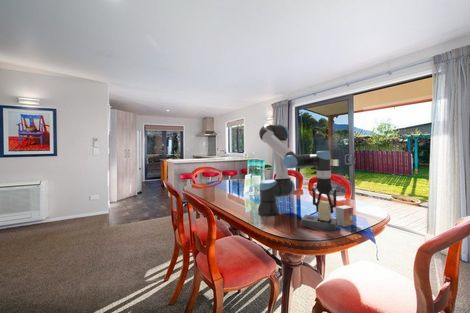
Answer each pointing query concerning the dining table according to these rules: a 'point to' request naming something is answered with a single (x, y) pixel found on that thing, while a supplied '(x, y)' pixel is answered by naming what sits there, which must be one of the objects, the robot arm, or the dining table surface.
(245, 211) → the dining table surface
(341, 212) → the small box
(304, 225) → the grey square hole block
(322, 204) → the beige square peg
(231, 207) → the dining table surface
